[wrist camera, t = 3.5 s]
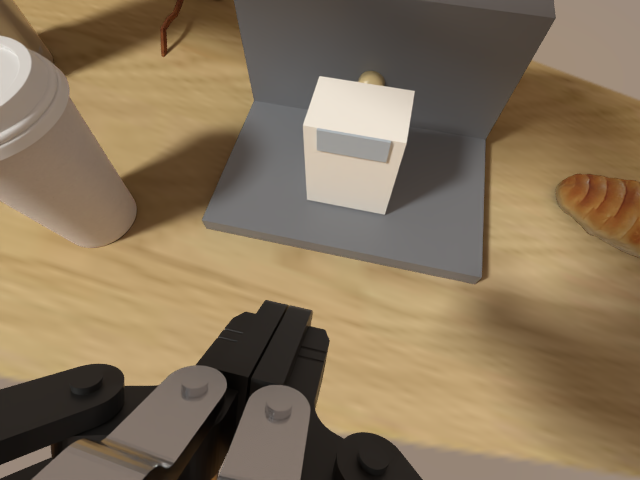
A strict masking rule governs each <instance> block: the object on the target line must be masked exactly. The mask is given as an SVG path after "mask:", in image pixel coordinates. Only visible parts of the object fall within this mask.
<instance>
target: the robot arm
mask: <svg viewBox="0 0 640 480" xmlns="http://www.w3.org/2000/svg"><path fill="white" fill-rule="evenodd" d="M0 36H5V37H9V38H12V39H14V40H16V41H18V42H20V43H21V44H23V45H24V46H25V47H27V48H28V49H29V50H32V51H34V52H37V53H38V54H40V55H42V56H43V57H45V58H46V59H48V60H49V61H51V62H52V63H53V57H52V54H51V53H50V51H49V50H48V48H47V47H46V46H45V44H44V43H43V41H42V40H41V39H40V37H39V36H38V35H37V33H36V32H35V30H34V29H33V28H32V26H31V25H30V23H29V22H28V20H27V19H26V18H25V16H24V15H23V13H22V12H21V11H20V9H19V8H18V6H17V5H16V4H15V2H14V1H13V0H0ZM312 313H313V311H312V310H309V309H304V308H300V307H295V306H291V305H290V306H289V305H286V304H281V303H277V302H272V301H268V300H265V301H264V303H263V304H262V306H261V307H260V309H259V310H258V312H257V313H256V314H253V313H249V312H244V313H242V314H240V315H238V316H236V317H234V318H233V319H232V320H231V321H230V322H229V324H228V325H227V326H226V327H225V330H223V331H222V332H221V334H220V335H219V337H218V338H217V339H216V340H215V341H214V343H213V344H212V345H211V346H210V348H209V349H208V350H207V351H206V353H205V354H204V355H203V356H202V358H201V359H200V360H199V361H198V363H197V364H196V365H195V366H188V367H184V368H181V369H179V370H177V371H175V372H173V373H172V374H170V375H169V376H168V377H167V378H166V379H165V380H164V381H163V382H162V383H161V384H160V385H157V386H124V375H123V373H122V372H121V370H119V369H118V368H116V367H114V366H111V365H107V364H90V365H84V366H80V367H77V368H73V369H70V370H66V371H63V372H59V373H56V374H53V375H49V376H46V377H42V378H39V379H35V380H32V381H28V382H25V383H21V384H18V385H15V386H11V387H8V388H4V389H1V390H0V465H1V464H4V463H6V462H9V461H11V460H14V459H16V458H19V457H21V456H24V455H26V454H29V453H31V452H34V451H37V450H39V449H41V448H44V447H47V446H49V445H51V454H52V458H49V459H47V460H44V461H42V462H39V463H37V464H35V465H32V466H30V467H27V468H25V469H22V470H20V471H18V472H15V473H13V474H10V475H8V476H6V477H3V478H1V479H0V480H422V479H421V477H420V476H419V475H418V473H417V472H416V471H415V470H414V468H413V467H412V466H411V465H410V463H409V462H408V461H407V460H406V458H405V457H404V456H403V454H402V453H401V452H400V451H399V450H398V449H397V447H396V446H395V445H393V444H392V443H391V442H390V441H388V440H387V439H385V438H383V437H381V436H379V435H376V434H372V433H365V432H361V433H355V434H352V435H349V436H347V437H346V438H345V439H343V438H342V437H340V436H338V435H336V434H335V433H333V432H332V431H330V430H329V429H328V428H326V427H325V426H324V425H323V424H322V422H321V421H320V420H319V418H318V416H317V414H316V411H315V408H316V404H317V399H318V395H319V391H320V387H321V383H322V378H323V372H324V367H325V362H326V357H327V352H328V346H329V338H328V336H327V333H326V331H325V330H324V329H319V328H315V327H311V320H312ZM227 453H228V454H227ZM226 455H227V456H226ZM225 457H226V459H225ZM224 459H225V462H224V464H223V467H222V469H221V472H220V475H219V477H218V474H219V469H220V468H221V465H222V463H223V461H224Z"/></svg>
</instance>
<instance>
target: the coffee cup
mask: <svg viewBox="0 0 640 480" xmlns="http://www.w3.org/2000/svg"><path fill="white" fill-rule="evenodd" d="M0 201H1V202H3V203H5V204H6V205H8V206H10V207H12V208H13V209H15V210H17V211H19V212H20V213H22V214H24V215H26V216H27V217H29V218H31V219H32V220H34V221H36V222H38V223H39V224H41V225H43V226H45V227H46V228H48V229H50V230H52V231H53V232H55V233H57V234H59V235H60V236H62V237H64V238H65V239H67V240H69V241H71V242H72V243H74V244H76V245H78V246H81V247H87V248H95V247H101V246H105V245H107V244H110V243H112V242H114V241H116V240H117V239H119V238H120V237H122V236H123V235H124V234H125V233H126V232H127V231H128V230H129V229H130V227H131V226H132V224H133V222H134V220H135V217H136V212H137V207H136V203H135V200H134V198H133V197H132V195H131V194H130V192H129V190H128V189H127V187H126V186H125V184H124V183H123V181H122V179H121V178H120V176H119V175H118V173H117V172H116V170H115V168H114V167H113V165H112V164H111V162H110V161H109V159H108V157H107V156H106V154H105V153H104V151H103V149H102V148H101V146H100V145H99V143H98V142H97V140H96V138H95V137H94V135H93V134H92V132H91V130H90V129H89V127H88V126H87V124H86V122H85V121H84V119H83V118H82V116H81V114H80V113H79V111H78V110H77V108H76V106H75V105H74V103H73V102H72V100H71V98H70V97H69V84H68V81H67V78H66V77H65V75H64V74H63V72H62V71H61V70H60V69H59V68H58V67H56V66H55V65H54V64H53V63H52V62H51V61H49V60H48V59H46V58H45V57H43V56H42V55H40V54H38V53H37V52H34V51H32V50H29V49H28V48H27V47H25V46H24V45H23V44H21V43H20V42H18V41H16V40H14V39H12V38H9V37H5V36H0Z"/></svg>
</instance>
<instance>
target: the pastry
mask: <svg viewBox="0 0 640 480" xmlns="http://www.w3.org/2000/svg"><path fill="white" fill-rule="evenodd" d="M556 198H557V202H558V205H559V207H560V208H561V209H562V210H563V211H564V212H565V213H567V214H568V215H570V216H571V217H573V218H574V219H575V221H576V222H577V223H579V224H580V225H581V226H582V227H583V229H584V230H585V231H586V232H587V233H589V234H590V235H594V236H596V237H598V238H599V239H601V240H603V241H605V242H607V243H609V244H610V245H612V246H613V247H615V248H617V249H619V250H621V251H624V252H626V253H628V254H630V255H633V256H636V257H639V258H640V182H637V181H634V180H623V179H618V178H608V177H604V176H599V175H591V174H587V175H582V174H575V175H573V176H570V177H568V178H567V179H565V180H563V181H562V182H561V183H559V184H558V186H557V188H556Z"/></svg>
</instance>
